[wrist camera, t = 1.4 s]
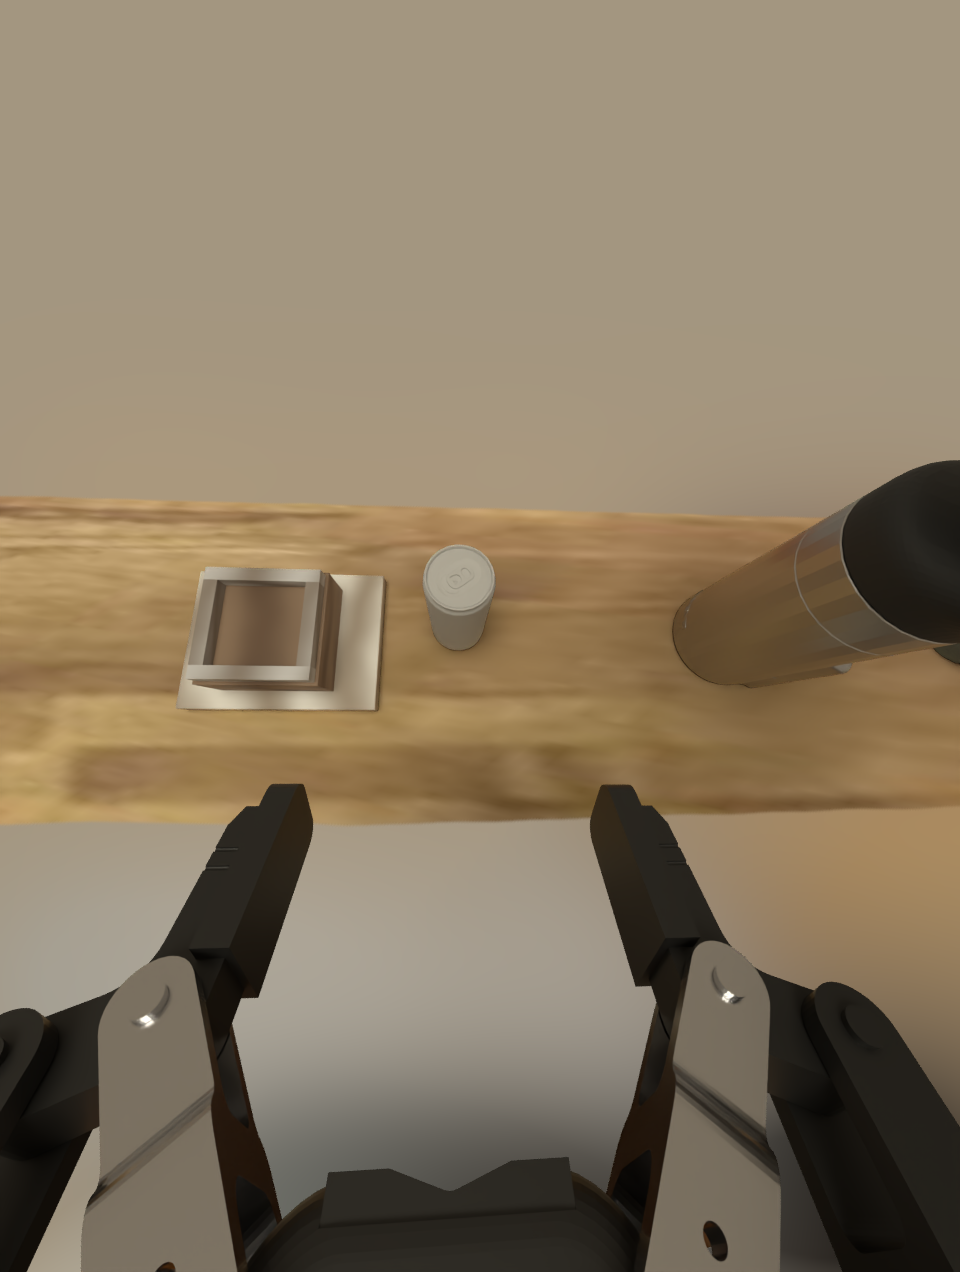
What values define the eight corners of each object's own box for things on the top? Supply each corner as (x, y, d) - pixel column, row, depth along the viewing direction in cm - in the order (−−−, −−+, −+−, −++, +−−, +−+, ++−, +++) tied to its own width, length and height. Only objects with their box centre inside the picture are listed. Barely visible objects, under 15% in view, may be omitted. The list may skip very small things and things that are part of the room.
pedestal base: (386, 582, 38) (371, 550, 31) (377, 710, 35) (360, 705, 28) (211, 577, 37) (158, 544, 30) (187, 709, 34) (123, 703, 27)
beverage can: (421, 621, 37) (406, 568, 25) (463, 592, 38) (467, 529, 26) (452, 662, 36) (451, 627, 25) (494, 631, 37) (512, 584, 25)
